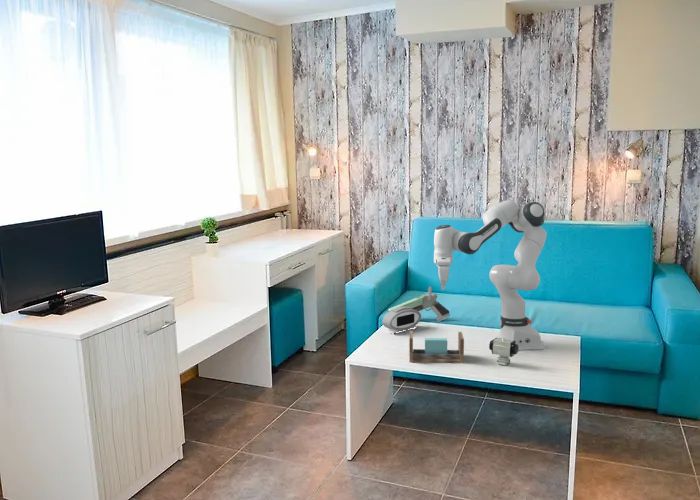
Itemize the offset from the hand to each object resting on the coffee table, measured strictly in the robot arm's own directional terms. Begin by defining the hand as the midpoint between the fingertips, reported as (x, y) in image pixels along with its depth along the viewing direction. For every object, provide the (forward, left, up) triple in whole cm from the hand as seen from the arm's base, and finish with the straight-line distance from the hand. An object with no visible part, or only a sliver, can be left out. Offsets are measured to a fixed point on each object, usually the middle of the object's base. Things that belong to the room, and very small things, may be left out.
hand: (442, 287), depth 286 cm
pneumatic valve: (-25, +26, -29) cm, 47 cm away
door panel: (+4, +19, -28) cm, 34 cm away
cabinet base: (+4, +19, -29) cm, 35 cm away
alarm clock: (+20, -27, -29) cm, 45 cm away
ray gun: (+11, -49, -30) cm, 58 cm away
